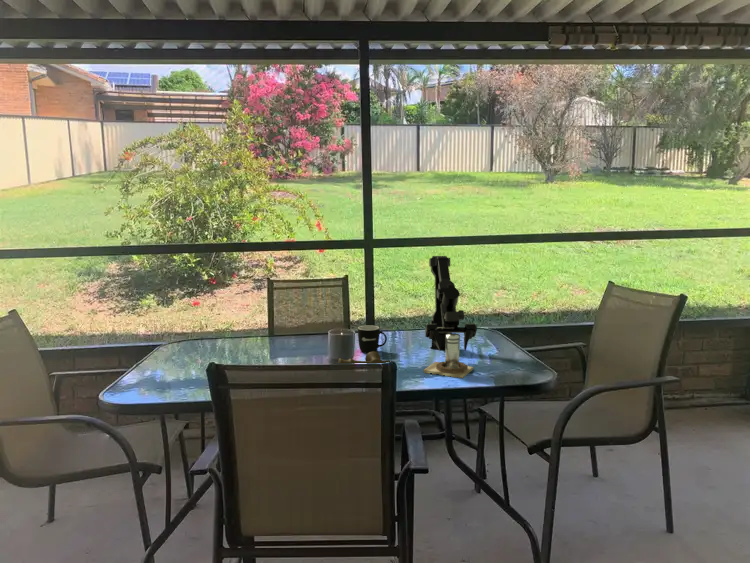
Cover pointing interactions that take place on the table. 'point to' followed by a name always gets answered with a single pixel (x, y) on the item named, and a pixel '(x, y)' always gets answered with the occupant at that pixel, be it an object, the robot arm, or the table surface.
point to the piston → (452, 350)
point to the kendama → (366, 359)
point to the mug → (369, 338)
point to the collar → (448, 370)
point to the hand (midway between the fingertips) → (452, 350)
